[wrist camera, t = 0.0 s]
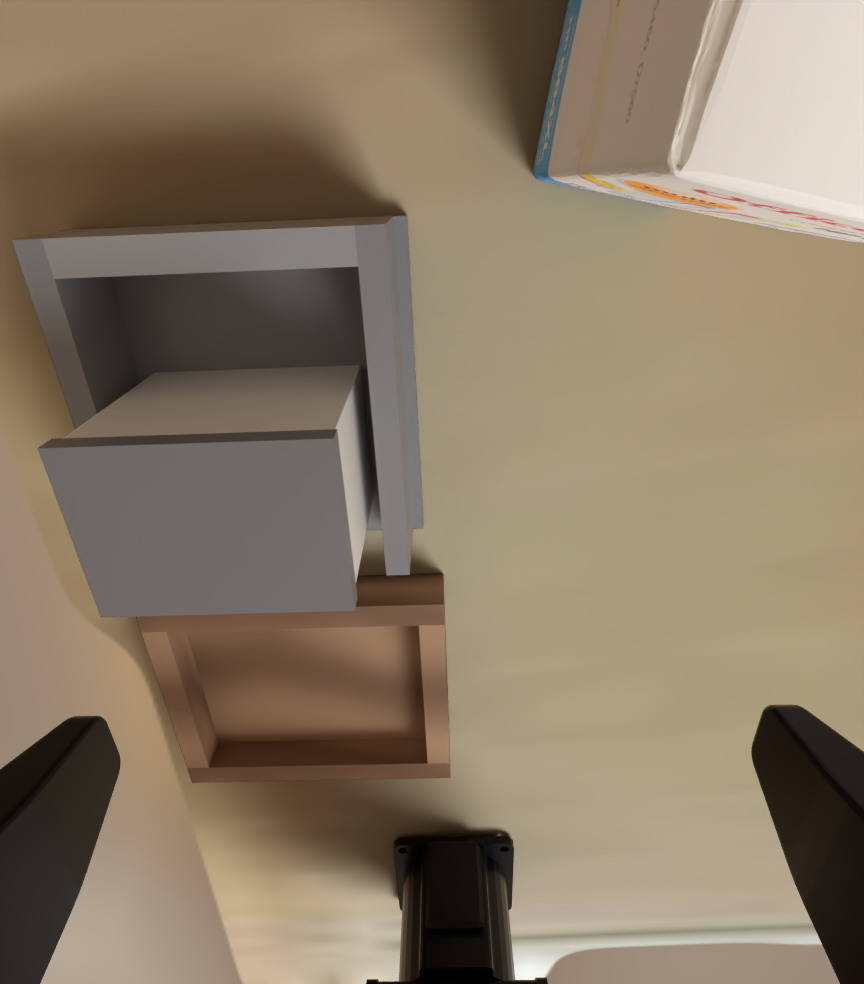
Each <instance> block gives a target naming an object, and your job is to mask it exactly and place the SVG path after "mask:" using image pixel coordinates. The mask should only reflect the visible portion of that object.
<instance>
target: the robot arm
mask: <svg viewBox="0 0 864 984" xmlns="http://www.w3.org/2000/svg"><path fill="white" fill-rule="evenodd" d="M752 760H753V764H754V768H755V771H756V773H757V776H758V779H759V782H760V785H761V788H762V791H763V794H764V797H765V800H766V802H767V805H768V808H769V811H770V814H771V817H772V820H773V823H774V826H775V829H776V831H777V834H778V837H779V840H780V843H781V846H782V849H783V852H784V855H785V858H786V861H787V863H788V866H789V869H790V871H791V874H792V877H793V879H794V882H795V885H796V887H797V889H798V892H799V894H800V896H801V899H802V901H803V903H804V905H805V908H806V910H807V912H808V914H809V916H810V919H811V921H812V923H813V925H814V927H815V930H816V932H817V934H818V936H819V938H820V941H821V943H822V945H823V947H824V949H825V952H826V954H827V956H828V958H829V960H830V962H831V965H832V967H833V969H834V971H835V973H836V976H837V978H838V980H839V982H840V984H864V752H863V751H862V750H860V749H859V748H858V747H856V746H855V745H854V744H852V743H851V742H850V741H848V740H847V739H845V738H844V737H843V736H841V735H840V734H839V733H837V732H836V731H835V730H833V729H832V728H830V727H829V726H828V725H826V724H825V723H824V722H822V721H821V720H819V719H818V718H817V717H815V716H814V715H813V714H811V713H810V712H809V711H807V710H806V709H804V708H802V707H800V706H798V705H769V706H767V707H766V708H765V709H764V710H763V712H762V715H761V718H760V721H759V724H758V728H757V731H756V734H755V737H754V741H753V744H752ZM119 770H120V755H119V752H118V750H117V747H116V745H115V742H114V740H113V737H112V735H111V732H110V730H109V727H108V725H107V722H106V721H105V720H104V719H103V718H102V717H100V716H75V717H71V718H69V719H67V720H66V721H64V722H62V723H61V724H60V725H59V726H57V727H56V728H54V729H53V730H52V731H50V732H49V733H48V734H47V735H45V736H44V737H43V738H41V739H40V740H39V741H37V742H36V743H35V744H33V745H32V746H31V747H29V748H28V749H27V750H25V751H24V752H23V753H21V754H20V755H19V756H17V757H16V758H15V759H13V760H12V761H11V762H9V763H8V764H7V765H6V766H4V767H3V768H2V769H0V984H40V983H41V980H42V978H43V976H44V973H45V971H46V969H47V966H48V964H49V962H50V960H51V957H52V955H53V953H54V950H55V948H56V945H57V943H58V941H59V939H60V937H61V934H62V932H63V930H64V927H65V925H66V923H67V920H68V918H69V916H70V914H71V911H72V909H73V906H74V904H75V901H76V899H77V897H78V894H79V892H80V889H81V886H82V884H83V881H84V878H85V875H86V872H87V869H88V866H89V863H90V860H91V857H92V854H93V851H94V848H95V845H96V842H97V839H98V836H99V833H100V830H101V827H102V824H103V821H104V817H105V814H106V811H107V808H108V805H109V802H110V799H111V796H112V793H113V790H114V787H115V784H116V781H117V778H118V774H119ZM393 852H394V861H395V869H396V878H397V887H398V896H399V904H400V909H401V910H402V930H401V951H400V971H399V982H379V981H378V979H367V983H366V984H548V983H547V978H535V980H515V974H514V963H513V953H512V942H511V932H510V921H509V911H508V910H510V909H511V907H512V882H513V857H514V846H513V840H512V839H511V838H509V837H506V836H492V837H429V838H399V839H397V840H395V841H394V850H393Z"/></svg>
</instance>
